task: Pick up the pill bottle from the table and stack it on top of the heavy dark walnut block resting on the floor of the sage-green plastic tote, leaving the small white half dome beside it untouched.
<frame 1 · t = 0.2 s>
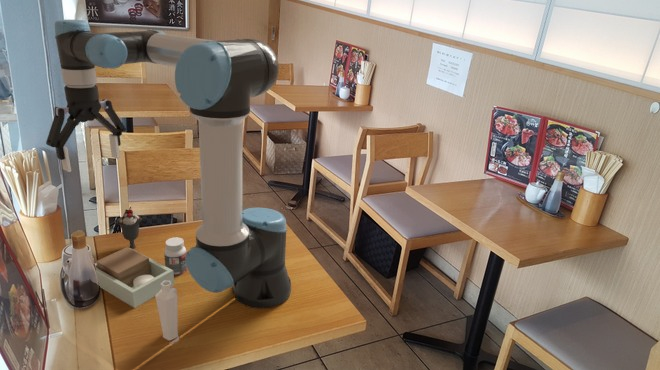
hand: (92, 163, 125), 27 cm above the table, fingers open, 13 cm apart
sundae: (133, 250, 138), on the table
walnut block: (125, 278, 123), point 1 cm above the table, touching tote
white half dome: (145, 290, 119), point 1 cm above the table, touching tote
perfume bottle: (170, 338, 105), on the table
tote: (133, 286, 122), on the table
pill bottle: (176, 273, 129), on the table
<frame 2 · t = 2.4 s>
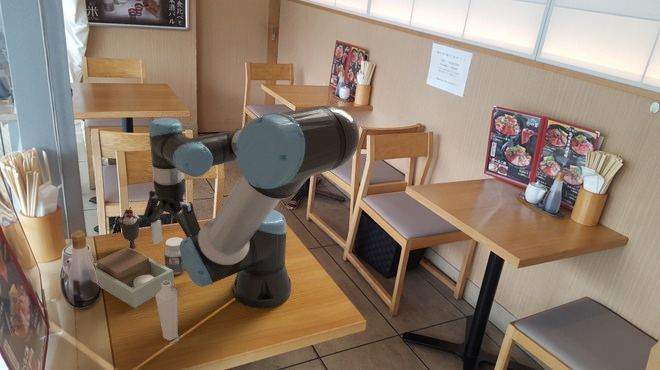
hand: (174, 250, 126), 7 cm above the table, fingers open, 13 cm apart
nothing on the table moved.
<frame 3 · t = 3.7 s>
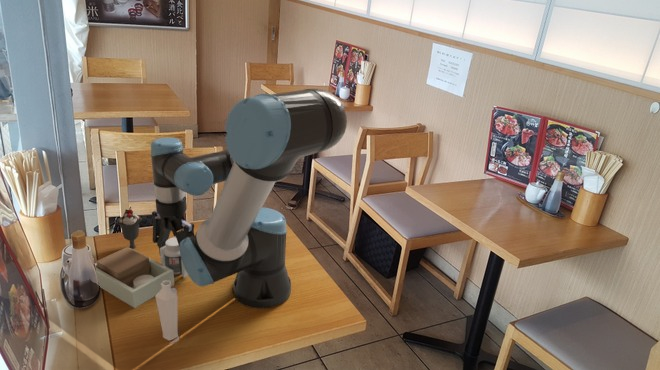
hand: (176, 271, 128), 0 cm above the table, fingers open, 8 cm apart
nothing on the table moved.
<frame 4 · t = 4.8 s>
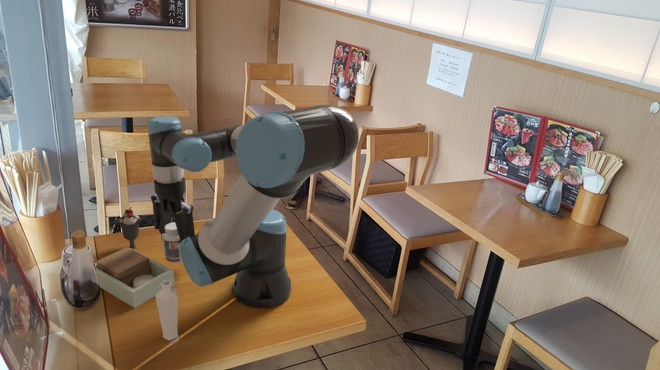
hand: (176, 257, 126), 5 cm above the table, fingers closed on pill bottle, 6 cm apart
pill bottle: (177, 259, 126), point 5 cm above the table, touching gripper
everything else where it was.
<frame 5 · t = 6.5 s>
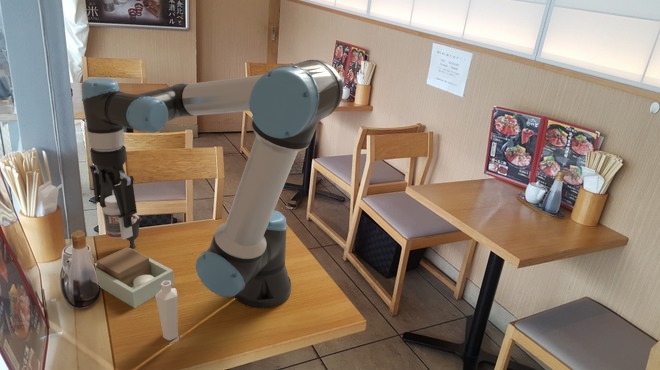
hand: (119, 233, 117), 15 cm above the table, fingers closed on pill bottle, 6 cm apart
pill bottle: (119, 234, 118), point 14 cm above the table, touching gripper
everything else where it was.
when the fingers open (8 cm above the table, at t = 8.2 s): pill bottle stays where it is, resting on walnut block.
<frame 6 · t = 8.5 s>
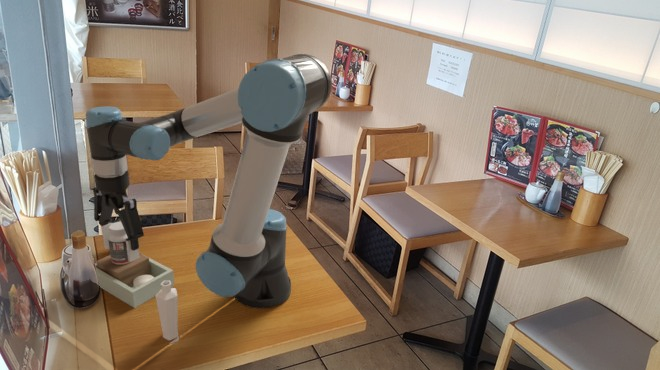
hand: (121, 252, 120), 9 cm above the table, fingers open, 9 cm apart
walnut block: (125, 278, 123), point 1 cm above the table, touching pill bottle, tote
pill bottle: (123, 260, 120), point 7 cm above the table, touching walnut block
everything else where it was.
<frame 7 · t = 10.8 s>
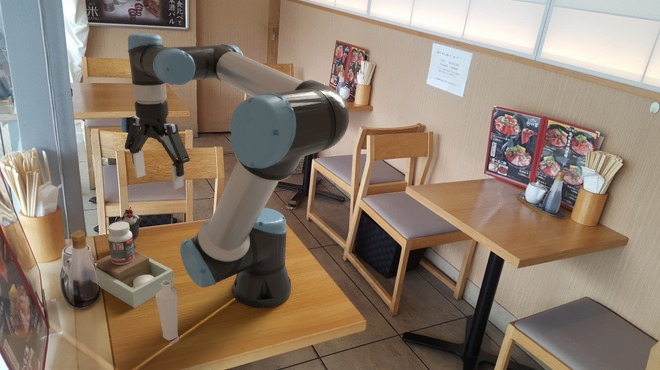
hand: (159, 181, 120), 26 cm above the table, fingers open, 13 cm apart
nothing on the table moved.
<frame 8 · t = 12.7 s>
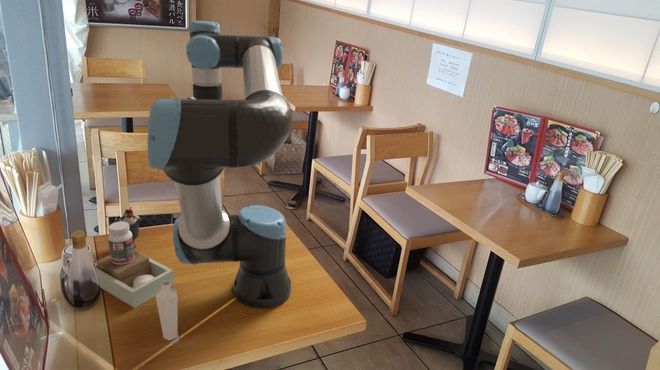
hand: (210, 158, 131), 29 cm above the table, fingers open, 13 cm apart
nothing on the table moved.
at the end: pill bottle inside the target area on the walnut block (0.1 cm from its centre), point 5.8 cm above the walnut block's base; pill bottle tilted 0°; the gripper is holding nothing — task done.
